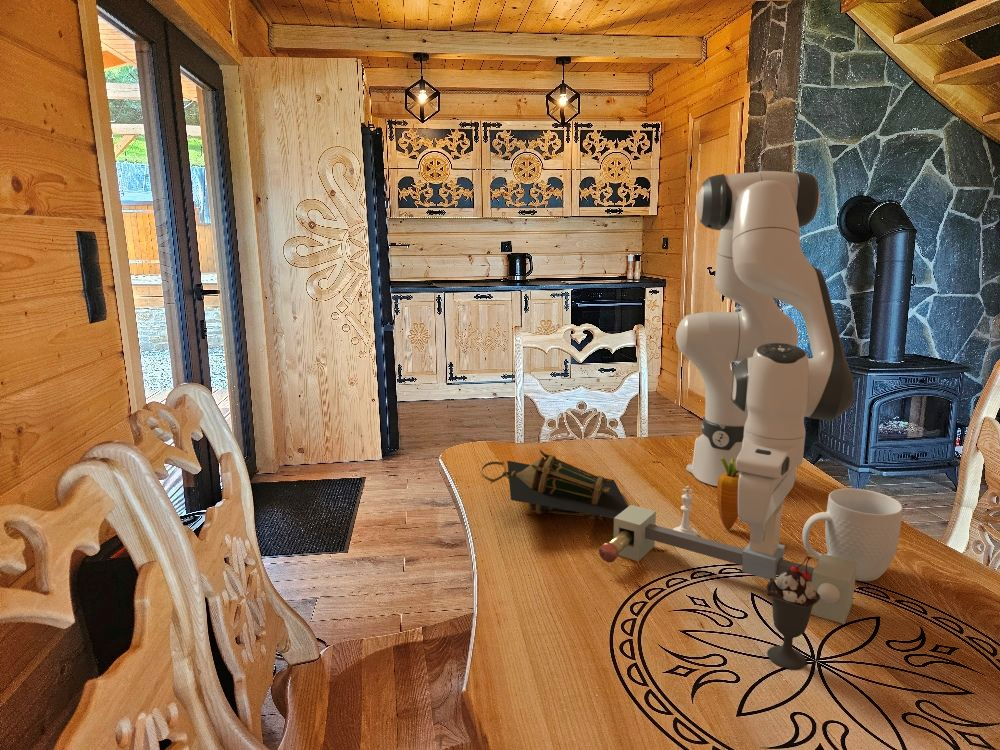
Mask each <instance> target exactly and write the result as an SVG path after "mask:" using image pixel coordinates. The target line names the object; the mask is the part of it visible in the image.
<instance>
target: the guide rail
mask: <svg viewBox="0 0 1000 750" xmlns="http://www.w3.org/2000/svg"><path fill="white" fill-rule="evenodd" d="M656 517H657V511H656V510H653V509H649V508H644V507H641V506H638V505H633V504H630V505H628V507H627V508H626V509H625V510H624V511H622V512H621V513H620V514H618V515H617V516H616V517H615V518H613V537H612V539H614V538H615V537H616V536H617V535H618V534H620V533H621V532H622V531H623V530H624V529H627V530H631V531H634V540H633V541H632V542H631V543H630V544H629V545H627V546H626V547H625V548H624V549H623V550H622V551H621V552H620V553H618V556H619V557H623V558H625V559H629V560H633V561H636V562H640V561H641V560H642V559H643V558H644V557H645V556H646V555H647V554H648V553H649V552H650V551H651V550H652V549H653V548H655V542H658V543H661V544H665V545H669V546H672V547H676V548H679V549H681V550H682V549H683V550H686V551H689V552H693V553H698V554H699V555H705V556H708V557H709V558H710V557H711V558H713V559H717V560H718V559H719V560H722V561H725V562H728V563H733V564H736V565H740V566H742V565H743V558H742V554H743V550H744V549H745V548H742V547H738V546H735V545H731V544H727V543H723V542H720V541H716V540H712V539H708V538H704V537H701V536H699V535H698V536H694V535H690V534H687V533H683V532H679V531H675V530H673V529H671V528H667V527H664V526H660V525H657V524H656V519H657V518H656ZM821 554H822V555H821V557H820V559H818V561H817V563H816V565H815V567H814V566H810V565H807V572H808V573H809V574H810V579H809V581H810V582H811V583H812V584H813V586H814V588H815V591H816V592H817V593H818V594H819V595H820V599H819V601H818V602H817V603H816V604H814V605H813V607H812V610H811V614H810V616H811V615H812V616H815V617H818V618H821V619H825V620H828V621H831V622H834V621H835V623H837V622H839V623H838V624H841V623H842V624H841V625H844V624H846V622H847V619H848V617H849V613H850V611H851V608H852V605H853V601H854V600H853V599H854V593H855V584H856V580H855V578H856V569H857V562H853V561H849V560H845V559H841V558H837V557H834V556H830V555H826V554H827V553H821ZM801 564H802V563H798V562H794V561H791V560H787V559H784V558H783V559H780V560H779V561H778V563H777V571H776V576H777V577H778V576H779V575H780V574H782V573H783V572H784V571H787V570H790V569H791V567H793V566H796V567H798V566H799V565H801ZM799 569H800V573H802V572H806V570H805V569H806V564H802V565H801V566H800V567H799ZM847 616H848V617H847Z"/></svg>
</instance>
